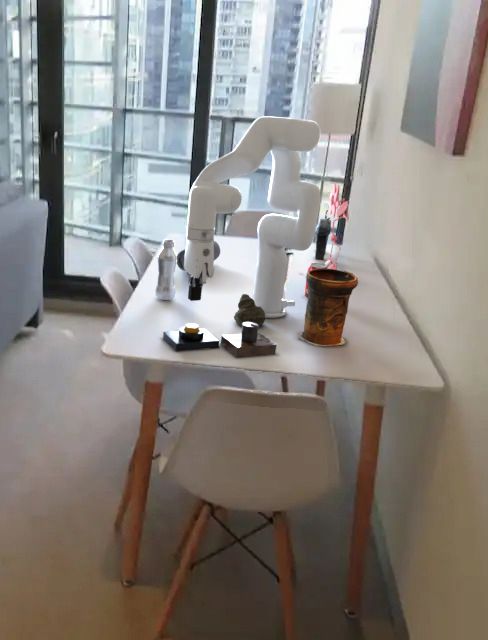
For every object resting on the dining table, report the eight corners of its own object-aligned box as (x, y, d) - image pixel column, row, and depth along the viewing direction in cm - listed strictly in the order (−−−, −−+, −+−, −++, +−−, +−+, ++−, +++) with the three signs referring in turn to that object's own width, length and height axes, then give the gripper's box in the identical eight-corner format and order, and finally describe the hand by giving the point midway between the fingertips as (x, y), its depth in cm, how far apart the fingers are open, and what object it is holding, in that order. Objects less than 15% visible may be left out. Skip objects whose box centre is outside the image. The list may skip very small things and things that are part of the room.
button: (195, 328, 206) (195, 322, 205) (200, 333, 202) (201, 327, 201) (182, 329, 204) (182, 323, 204) (187, 334, 201) (188, 328, 200)
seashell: (265, 299, 226) (233, 296, 227) (272, 288, 215) (238, 286, 215) (263, 334, 224) (231, 331, 225) (269, 325, 213) (235, 322, 213)
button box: (204, 335, 211) (205, 323, 209) (218, 347, 202) (220, 334, 201) (163, 338, 207) (163, 325, 205) (175, 351, 198) (177, 337, 197)
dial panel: (258, 342, 208) (259, 331, 207) (275, 354, 199) (276, 344, 198) (220, 345, 204) (221, 334, 203) (236, 357, 196) (237, 347, 194)
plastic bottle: (173, 303, 239) (177, 243, 231) (153, 301, 240) (157, 241, 232) (175, 297, 245) (180, 239, 237) (156, 295, 246) (160, 237, 238)
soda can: (299, 298, 251) (304, 264, 246) (309, 294, 256) (314, 261, 251) (318, 302, 247) (323, 268, 242) (327, 298, 252) (333, 265, 247)
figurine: (333, 268, 293) (348, 180, 279) (345, 285, 269) (362, 190, 255) (295, 265, 294) (308, 177, 280) (304, 282, 270) (318, 187, 257)
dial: (237, 339, 200) (239, 323, 198) (246, 335, 203) (248, 319, 202) (251, 343, 198) (253, 327, 196) (259, 339, 201) (261, 323, 199)
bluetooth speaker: (195, 276, 271) (198, 250, 267) (174, 272, 275) (176, 246, 272) (220, 265, 289) (223, 240, 285) (199, 261, 293) (201, 237, 289)
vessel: (317, 351, 203) (328, 282, 195) (287, 334, 215) (296, 269, 207) (357, 345, 209) (369, 279, 201) (325, 329, 221) (336, 266, 213)
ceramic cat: (325, 261, 303) (333, 213, 295) (310, 259, 304) (317, 212, 296) (326, 251, 320) (334, 206, 312) (311, 249, 322) (318, 204, 314)
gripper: (225, 239, 187) (218, 307, 194) (201, 228, 200) (195, 291, 207) (198, 240, 185) (192, 308, 192) (176, 228, 198) (171, 292, 205)
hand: (194, 299), depth 199 cm, fingers closed
